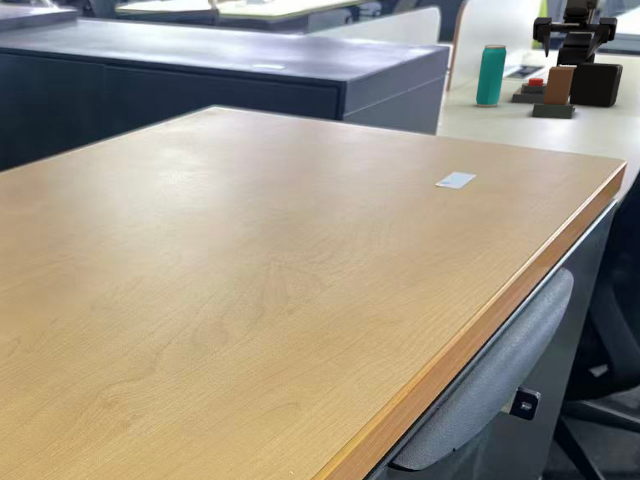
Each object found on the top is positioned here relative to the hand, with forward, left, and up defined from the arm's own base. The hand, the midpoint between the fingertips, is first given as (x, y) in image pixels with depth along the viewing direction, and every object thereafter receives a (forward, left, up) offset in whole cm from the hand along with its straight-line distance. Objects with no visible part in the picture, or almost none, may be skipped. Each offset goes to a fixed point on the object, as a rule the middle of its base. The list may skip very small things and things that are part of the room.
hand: (566, 56), depth 213 cm
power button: (-4, -15, -9) cm, 18 cm away
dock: (+5, +5, -13) cm, 15 cm away
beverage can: (+12, -12, -13) cm, 21 cm away
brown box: (+5, +5, -13) cm, 15 cm away
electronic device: (-12, -2, -13) cm, 18 cm away
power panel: (-4, -15, -13) cm, 20 cm away
